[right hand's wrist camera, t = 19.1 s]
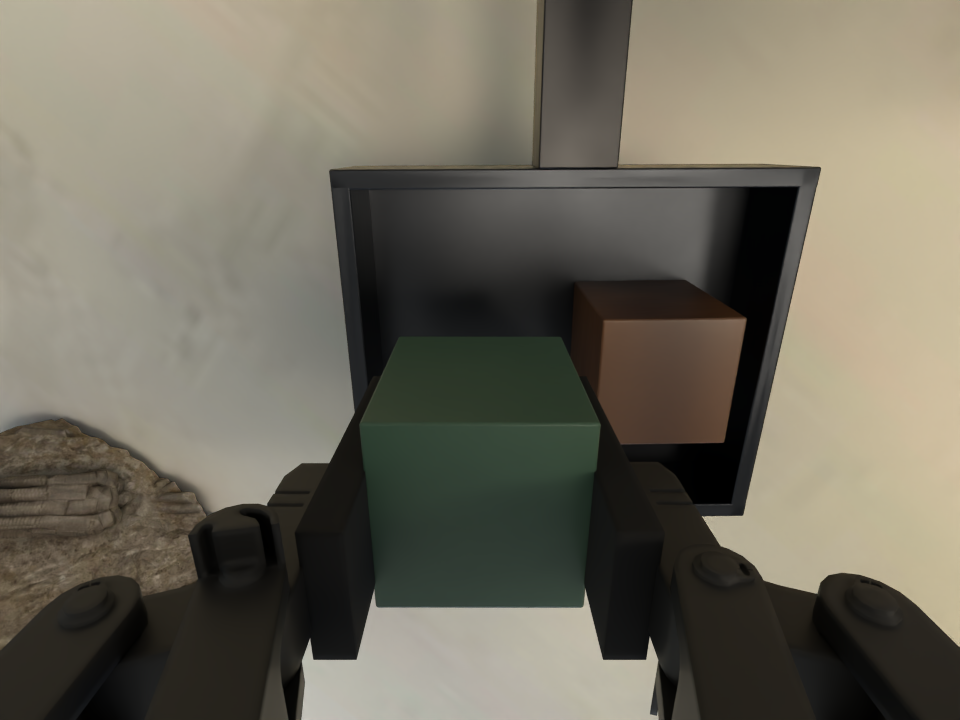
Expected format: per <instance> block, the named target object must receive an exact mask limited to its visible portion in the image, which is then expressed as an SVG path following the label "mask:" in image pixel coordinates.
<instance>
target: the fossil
mask: <svg viewBox="0 0 960 720" xmlns="http://www.w3.org/2000/svg"><path fill="white" fill-rule="evenodd" d="M202 509H203V508H202V506H201V505H200V504H199V503H198V502H197V500H196V497H195V494H194V493H191V492H182V491H181V490H180V489H179V488H178V487H177V485H176V483H175V482H174V481H173V482H170V481H169V479H166V478H159V477H158V476H157V474H156V473H155V472H154V471H153V470H150V469H149V468H148V467H147V466H146V465H145V464H144V462H141V461H139V460H137V459H135V458H133V457H131V456H130V454H129V452H128V450H125V449H121V448H115V447H110V446H109V445H108V444H107V443H106V442H105V441H103V440H102V439H99V438H96V437H90V436H88V435H86V434H83V433H82V432H81V431H80V429H79V428H78V426H74V425H71V424H69V423H68V422H67V421H65V420H64V419H59V420H56V421H53V420H47V421H42V422H38V423H33V424H29V425H24V426H17V427H15V428H12V429H9V430H7V431H4V432H2V433H0V650H2V649H3V648H4V647H5V646H6V645H7V644H8V643H9V642H10V641H11V640H12V639H13V638H14V637H15V636H16V635H17V634H18V633H19V632H20V631H21V630H22V629H23V628H24V627H25V626H26V625H27V624H28V623H29V622H30V621H31V620H32V619H33V618H34V617H35V616H36V615H37V614H38V613H39V612H40V611H41V610H42V609H43V608H44V607H45V606H46V605H48V604H49V603H50V602H51V601H53V600H54V599H55V598H57V597H58V596H59V595H60V594H62V593H64V592H66V591H68V590H70V589H71V588H73V587H75V586H77V585H79V584H81V583H84V582H87V581H90V580H93V579H96V578H100V577H107V576H115V575H120V576H125V577H131V578H133V579H134V580H135V581H136V582H137V583H138V584H139V585H140V589H141V592H142V596H146V595H151V594H155V593H159V592H164V591H168V590H172V589H177V588H181V587H184V586H187V585H191V584H194V583H196V582H197V579H198V577H197V572H196V568H195V564H194V560H193V555H192V551H191V547H190V543H189V538H188V534H189V533H190V532H191V530H192V529H193V528H194V526H195V525H196V524H197V523H199V522H200V521H202V520H203V519H204V518H206V517H207V516H206V514H205V513H204V511H203V510H202Z"/></svg>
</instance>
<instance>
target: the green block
mask: <svg viewBox="0 0 960 720" xmlns="http://www.w3.org/2000/svg"><path fill="white" fill-rule="evenodd" d="M359 425H360V436H361V447H362V458H363V469H364V471H365V475H366V486H367V497H368V508H369V519H370V530H371V541H372V552H373V563H374V574H375V587H374V589H375V600H376V606H377V607H467V608H581V607H583V605H584V596H585V585H584V581H585V570H586V559H587V548H588V537H589V526H590V515H591V504H592V493H593V483H594V472H595V471H596V469H597V458H598V448H599V437H600V426H601V425H600V422H599V420H598V418H597V415H596V413H595V411H594V409H593V407H592V404H591V402H590V400H589V398H588V396H587V393H586V391H585V389H584V387H583V384H582V382H581V380H580V378H579V376H578V373H577V371H576V369H575V367H574V365H573V362H572V360H571V358H570V356H569V354H568V351H567V349H566V347H565V345H564V343H563V340H562V338H561V337H399V338H398V341H397V343H396V345H395V347H394V349H393V352H392V354H391V356H390V358H389V360H388V363H387V365H386V367H385V369H384V371H383V374H382V376H381V378H380V380H379V382H378V385H377V387H376V389H375V391H374V393H373V396H372V398H371V400H370V402H369V404H368V407H367V409H366V411H365V413H364V415H363V417H362V420H361V422H360V424H359Z"/></svg>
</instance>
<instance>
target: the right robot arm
mask: <svg viewBox="0 0 960 720" xmlns="http://www.w3.org/2000/svg"><path fill="white" fill-rule="evenodd" d="M380 378H381V376H373V378H372V380H371V382H370V384H369V386H368V388H367V390H366V392H365V394H364V396H363V398H362V400H361V402H360V404H359V406H358V408H357V410H356V412H355V414H354V416H353V417H352V419H351V421H350V423H349V425H348V427H347V429H346V431H345V433H344V435H343V437H342V439H341V441H340V443H339V445H338V447H337V449H336V451H335V453H334V455H333V457H332V459H331V461H330V463H302V464H300V465H299V466H298V467H296V468H295V469H294V470H292V471H291V472H290V473H288V474H287V475H286V476H284V478H283V480H282V481H281V483H280V484H279V486H278V488H277V489H276V491H275V494H273V496H272V497H271V499H270V500H269V502H268V505H267V506H264V505H261V504H240V505H236V506H232V507H227V508H224V509H222V510H220V511H217V512H215V513H213V514H210V515H209V516H207V517H206V518H204V519H203V520H202V521H200V522H199V523H197V524H196V525H195V526H194V528H193V529H192V530H191V532H190V533H189V534H188V538H189V543H190V547H191V551H192V555H193V560H194V564H195V568H196V572H197V577H198V579H197V582H196V583H194V584H191V585H187V586H184V587H181V588H177V589H172V590H168V591H164V592H159V593H155V594H151V595H146V596H142V592H141V589H140V585H139V584H138V583H137V582H136V581H135V580H134V579H133V578H131V577H125V576H120V575H115V576H107V577H100V578H96V579H93V580H90V581H87V582H84V583H81V584H79V585H77V586H75V587H73V588H71V589H70V590H68V591H66V592H64V593H62V594H60V595H59V596H58V597H57V598H55V599H54V600H53V601H51V602H50V603H49V604H48V605H46V606H45V607H44V608H43V609H42V610H41V611H40V612H39V613H38V614H37V615H36V616H35V617H34V618H33V619H32V620H31V621H30V622H29V623H28V624H27V625H26V626H25V627H24V628H23V629H22V630H21V631H20V632H19V633H18V634H17V635H16V636H15V637H14V638H13V639H12V640H11V641H10V642H9V643H8V644H7V645H6V646H5V647H4V648H3V649H2V650H0V720H301V717H302V707H303V696H304V686H305V680H304V673H303V666H302V659H303V656H304V653H305V650H306V648H307V645H308V642H309V639H310V640H311V646H312V653H313V660H357V656H358V651H359V647H360V643H361V639H362V635H363V631H364V627H365V623H366V619H367V615H368V611H369V607H370V603H371V599H372V595H373V591H374V587H375V574H374V563H373V552H372V541H371V530H370V519H369V508H368V497H367V486H366V475H365V471H364V469H363V458H362V447H361V436H360V425H359V424H360V422H361V420H362V417H363V415H364V413H365V411H366V409H367V407H368V404H369V402H370V400H371V398H372V396H373V393H374V391H375V389H376V387H377V385H378V382H379V380H380ZM579 378H580V380H581V382H582V384H583V387H584V389H585V391H586V393H587V396H588V398H589V400H590V402H591V404H592V407H593V409H594V411H595V413H596V415H597V418H598V420H599V422H600V425H601V426H600V437H599V448H598V458H597V469H596V471H595V472H594V483H593V493H592V504H591V515H590V526H589V537H588V548H587V559H586V570H585V581H584V585H585V589H586V593H587V597H588V601H589V605H590V609H591V613H592V617H593V621H594V625H595V629H596V633H597V637H598V641H599V645H600V649H601V653H602V657H603V660H646V657H647V650H648V644H649V637H650V638H651V641H652V643H653V646H654V649H655V652H656V654H657V657H658V666H657V673H656V679H655V685H654V691H653V698H652V704H651V711H650V714H652V715H656V716H657V712H658V716H659V720H960V647H959V646H958V645H956V644H955V643H954V642H953V641H952V640H951V639H950V638H949V637H948V636H947V635H946V634H945V633H944V632H943V631H942V630H941V629H940V628H939V627H938V626H937V625H936V624H935V623H934V622H933V621H932V620H931V619H930V618H929V617H928V616H927V615H926V614H925V613H924V612H923V611H922V610H921V609H920V608H919V607H918V606H917V605H916V604H914V603H913V602H912V601H911V600H909V599H908V598H907V597H905V596H904V595H903V594H902V593H900V592H899V591H897V590H895V589H893V588H891V587H889V586H888V585H886V584H884V583H882V582H880V581H877V580H874V579H871V578H868V577H865V576H862V575H856V574H847V573H839V574H834V575H828V576H827V577H826V578H825V579H824V580H823V581H822V582H821V583H820V587H819V590H818V594H814V593H810V592H806V591H801V590H797V589H793V588H788V587H784V586H780V585H776V584H773V583H770V582H766V581H764V580H763V579H762V577H761V575H760V574H759V572H758V571H757V569H756V568H755V566H754V565H753V564H751V563H750V562H749V561H748V560H747V559H745V558H744V557H743V556H741V555H739V554H737V553H735V552H733V551H731V550H729V549H727V548H724V547H721V546H720V545H719V543H718V541H717V540H716V538H715V537H714V535H713V534H712V532H711V530H710V529H709V527H708V526H707V524H706V522H705V521H704V519H703V518H702V516H701V515H700V513H699V511H698V510H697V508H696V507H695V505H693V504H692V500H691V499H690V497H689V496H688V494H687V492H685V489H684V488H683V486H682V485H681V483H680V481H679V480H678V478H677V477H676V475H675V474H674V473H672V472H671V471H670V470H668V469H667V468H666V467H664V466H663V465H662V464H660V463H659V462H629V460H628V458H627V456H626V454H625V452H624V450H623V448H622V446H621V444H620V442H619V440H618V438H617V436H616V434H615V432H614V430H613V428H612V426H611V424H610V422H609V420H608V418H607V416H606V414H605V412H604V410H603V408H602V406H601V404H600V402H599V400H598V398H597V396H596V394H595V392H594V391H593V389H592V387H591V385H590V383H589V381H588V379H587V377H586V376H579Z"/></svg>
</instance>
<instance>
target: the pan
mask: <svg viewBox="0 0 960 720" xmlns="http://www.w3.org/2000/svg"><path fill="white" fill-rule="evenodd" d="M632 2H633V0H537V21H536V54H535V87H534V119H533V152H532V165H462V166H352V167H345V168H338V169H331V170H330V171H329V173H330V182H331V192H332V201H333V210H334V220H335V229H336V239H337V248H338V258H339V267H340V277H341V286H342V296H343V305H344V315H345V324H346V334H347V343H348V353H349V362H350V372H351V381H352V390H353V400H354V409H355V412H356V410H357V408H358V406H359V404H360V402H361V400H362V398H363V396H364V394H365V392H366V390H367V388H368V386H369V384H370V382H371V380H372V378H373V376H382V374H383V371H384V369H385V367H386V365H387V363H388V360H389V358H390V356H391V354H392V352H393V349H394V347H395V345H396V343H397V341H398V338H399V337H561V338H562V340H563V343H564V345H565V347H566V349H567V351H568V354H569V356H571V338H572V319H573V301H574V284H575V282H581V281H648V280H687V281H688V282H690V283H691V284H693V285H695V286H696V287H698V288H699V289H701V290H703V291H704V292H706V293H707V294H709V295H711V296H712V297H714V298H715V299H717V300H719V301H720V302H722V303H723V304H725V305H727V306H728V307H730V308H732V309H733V310H735V311H736V312H738V313H740V314H741V315H743V316H744V317H746V319H747V321H746V326H745V331H744V337H743V342H742V348H741V353H740V358H739V364H738V369H737V375H736V380H735V385H734V391H733V396H732V402H731V407H730V412H729V418H728V423H727V429H726V434H725V439H724V442H723V443H674V444H621V446H622V448H623V450H624V452H625V454H626V456H627V458H628V460H629V462H659V463H660V464H662V465H663V466H664V467H666V468H667V469H668V470H670V471H671V472H672V473H674V474H675V475H676V477H677V478H678V480H679V481H680V483H681V485H682V486H683V488H684V489H685V492H687V494H688V496H689V497H690V499H691V500H692V504H693V505H695V507H696V508H697V510H698V511H699V513H700V515H701V516H743V514H744V509H745V505H746V499H747V495H748V490H749V486H750V481H751V477H752V472H753V468H754V464H755V459H756V455H757V450H758V446H759V441H760V437H761V432H762V428H763V423H764V419H765V415H766V410H767V406H768V401H769V397H770V392H771V388H772V383H773V379H774V374H775V370H776V366H777V361H778V357H779V352H780V348H781V343H782V339H783V334H784V330H785V325H786V321H787V317H788V312H789V308H790V303H791V299H792V294H793V290H794V285H795V281H796V276H797V272H798V268H799V263H800V259H801V254H802V250H803V245H804V241H805V236H806V232H807V227H808V223H809V219H810V214H811V210H812V205H813V201H814V196H815V192H816V187H817V184H818V180H819V175H820V171H821V168H820V167H810V166H791V165H772V164H661V165H618V161H619V150H620V138H621V127H622V116H623V104H624V93H625V82H626V70H627V59H628V48H629V36H630V25H631V14H632Z"/></svg>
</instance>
